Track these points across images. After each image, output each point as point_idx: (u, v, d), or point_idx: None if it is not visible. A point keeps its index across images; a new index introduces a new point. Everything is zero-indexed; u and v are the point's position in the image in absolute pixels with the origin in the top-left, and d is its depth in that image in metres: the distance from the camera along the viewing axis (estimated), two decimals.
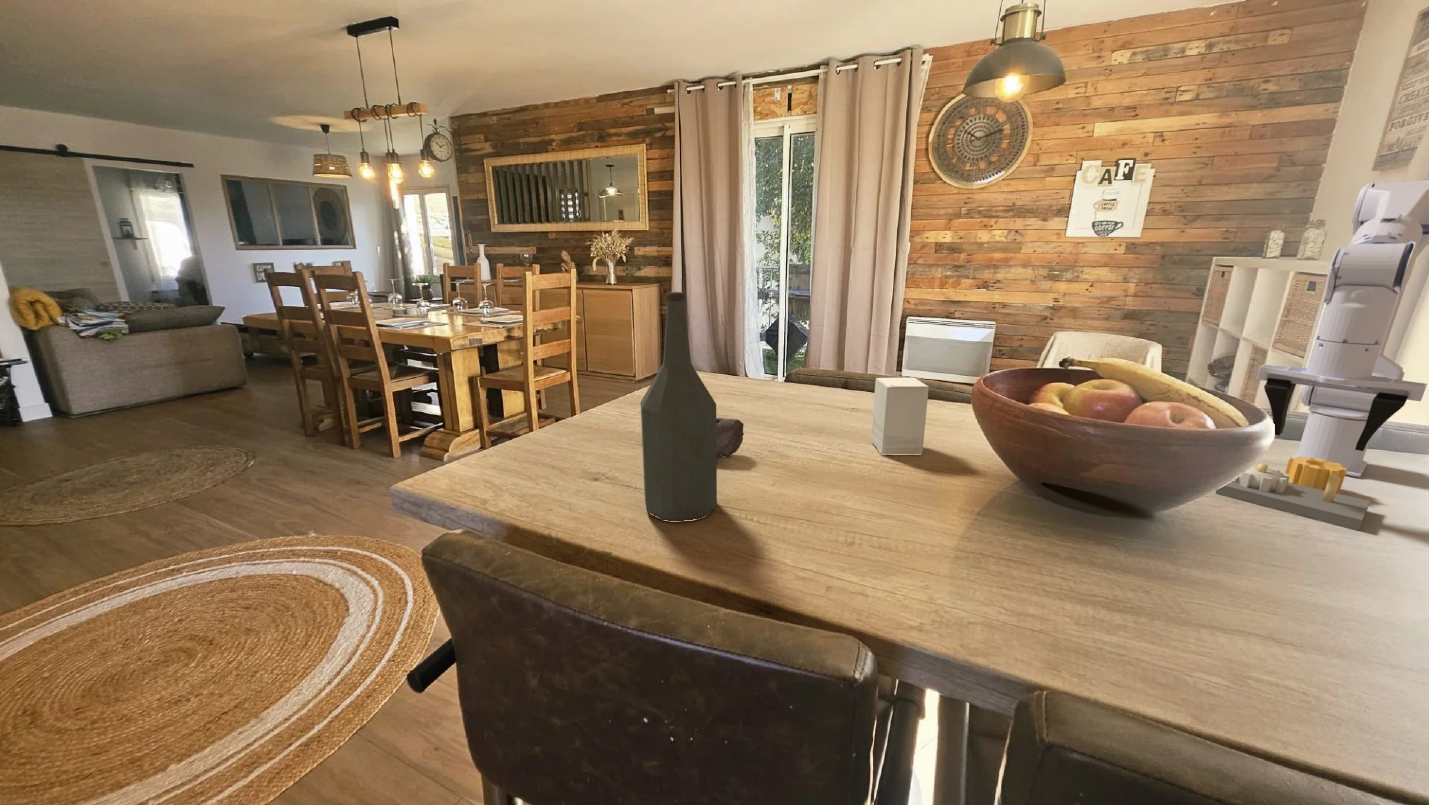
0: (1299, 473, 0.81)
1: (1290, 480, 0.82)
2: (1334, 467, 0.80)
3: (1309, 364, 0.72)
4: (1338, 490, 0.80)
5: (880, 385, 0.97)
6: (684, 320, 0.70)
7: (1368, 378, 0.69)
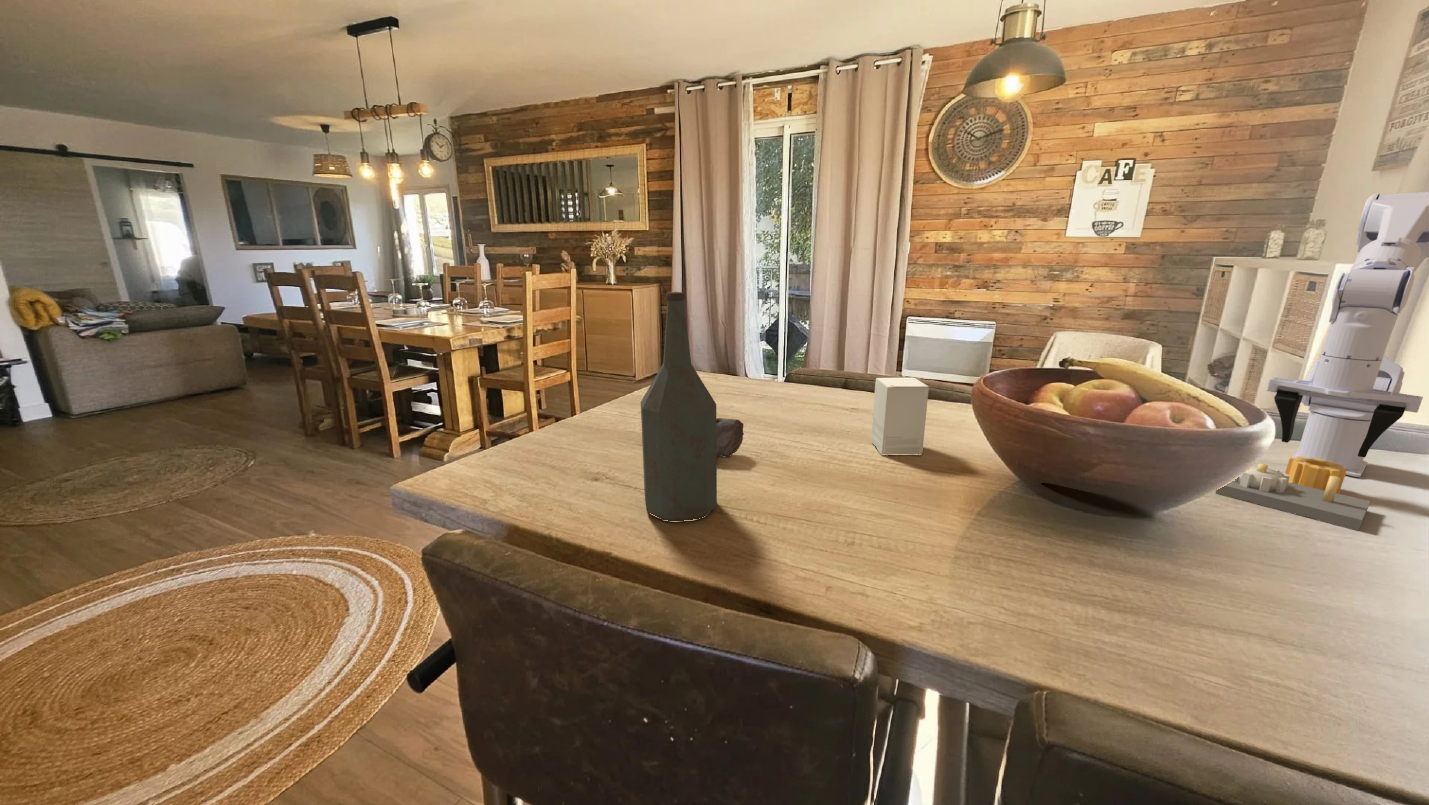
0: (1299, 473, 0.81)
1: (1290, 480, 0.82)
2: (1334, 467, 0.80)
3: (1316, 377, 0.79)
4: (1338, 490, 0.80)
5: (880, 385, 0.97)
6: (684, 320, 0.70)
7: (1369, 391, 0.75)
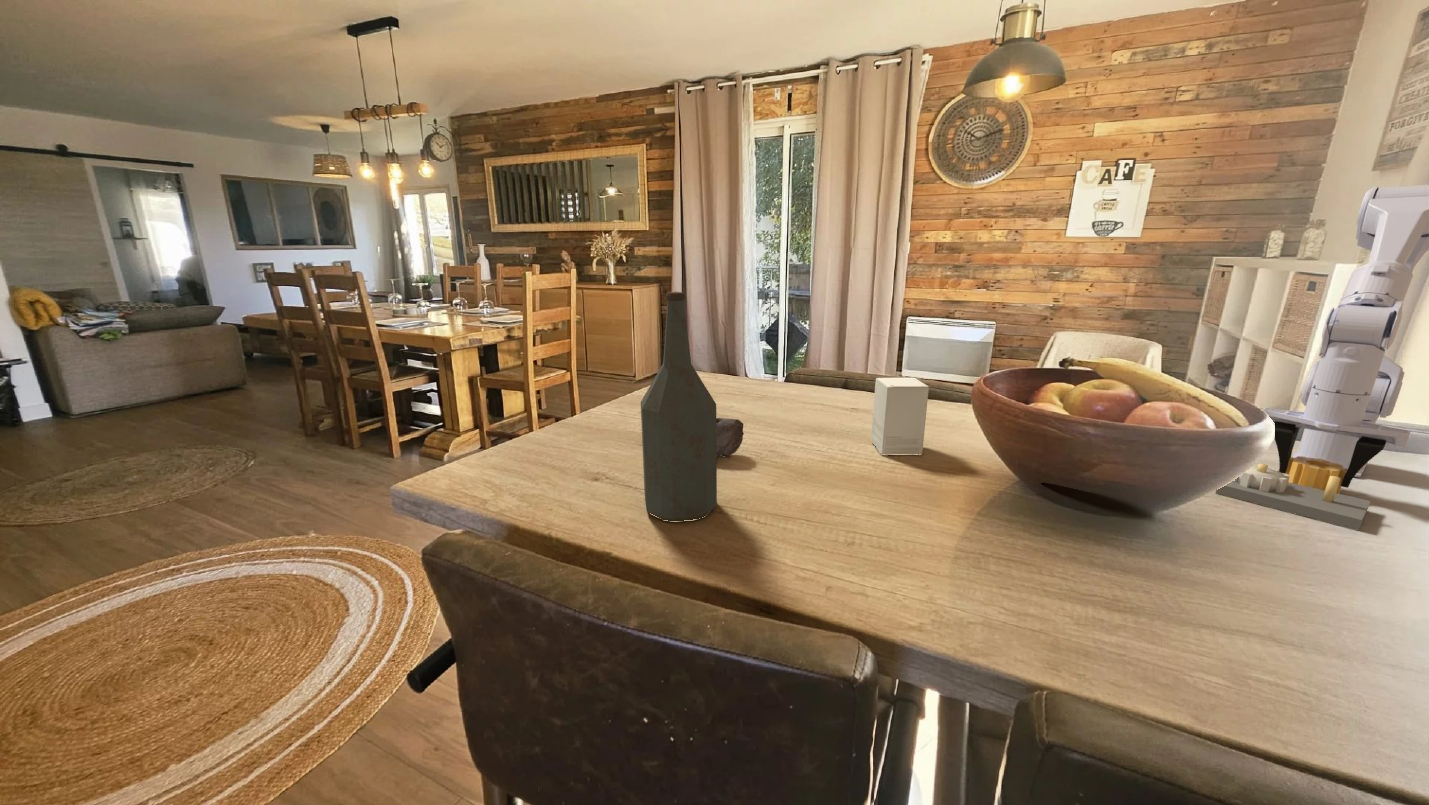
0: (1299, 473, 0.81)
1: (1290, 480, 0.82)
2: (1334, 467, 0.80)
3: (1306, 410, 0.80)
4: (1338, 490, 0.80)
5: (880, 385, 0.97)
6: (684, 320, 0.70)
7: (1358, 424, 0.77)
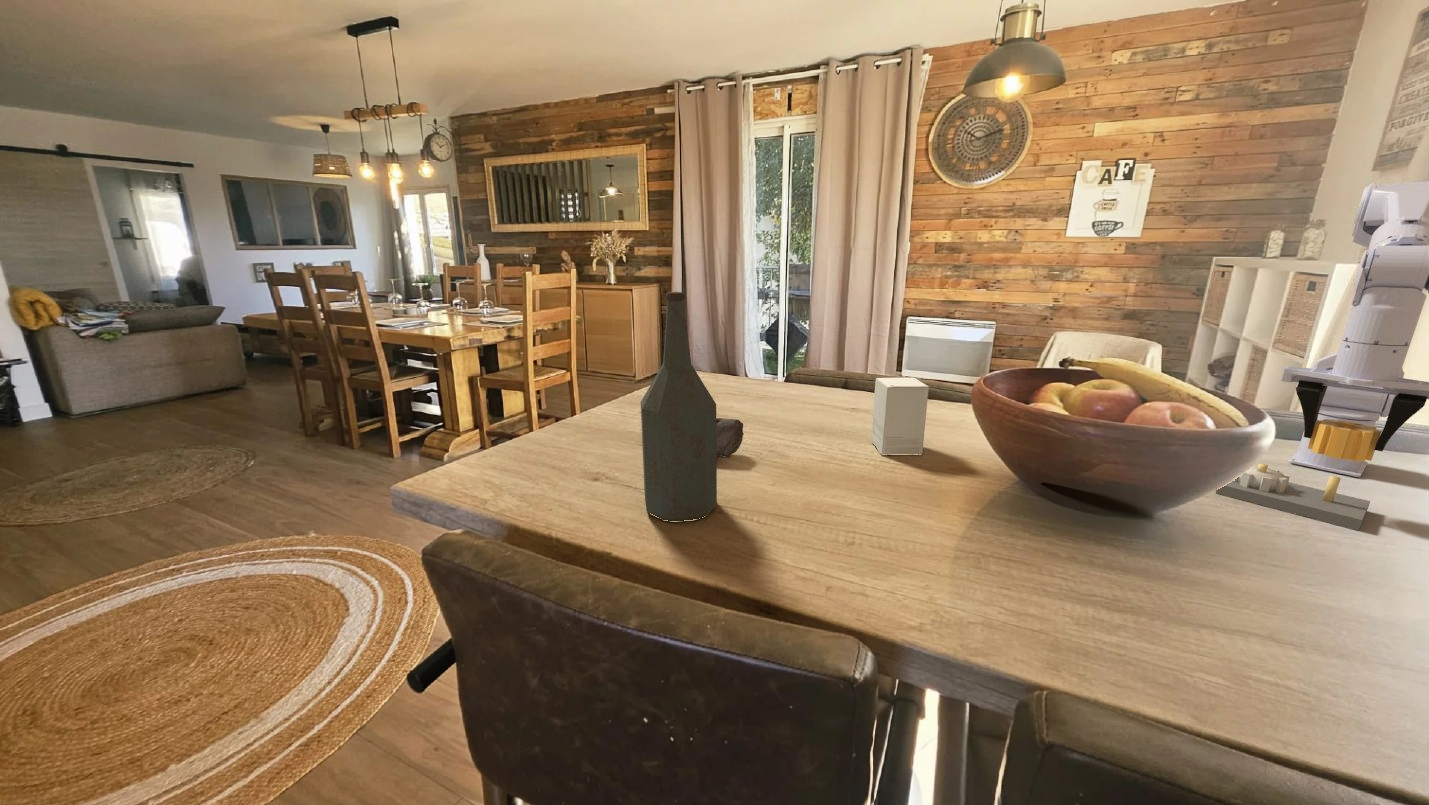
0: (1327, 437, 0.73)
1: (1317, 445, 0.74)
2: (1367, 429, 0.72)
3: (1335, 365, 0.72)
4: (1371, 454, 0.72)
5: (880, 385, 0.97)
6: (684, 320, 0.70)
7: (1395, 380, 0.69)
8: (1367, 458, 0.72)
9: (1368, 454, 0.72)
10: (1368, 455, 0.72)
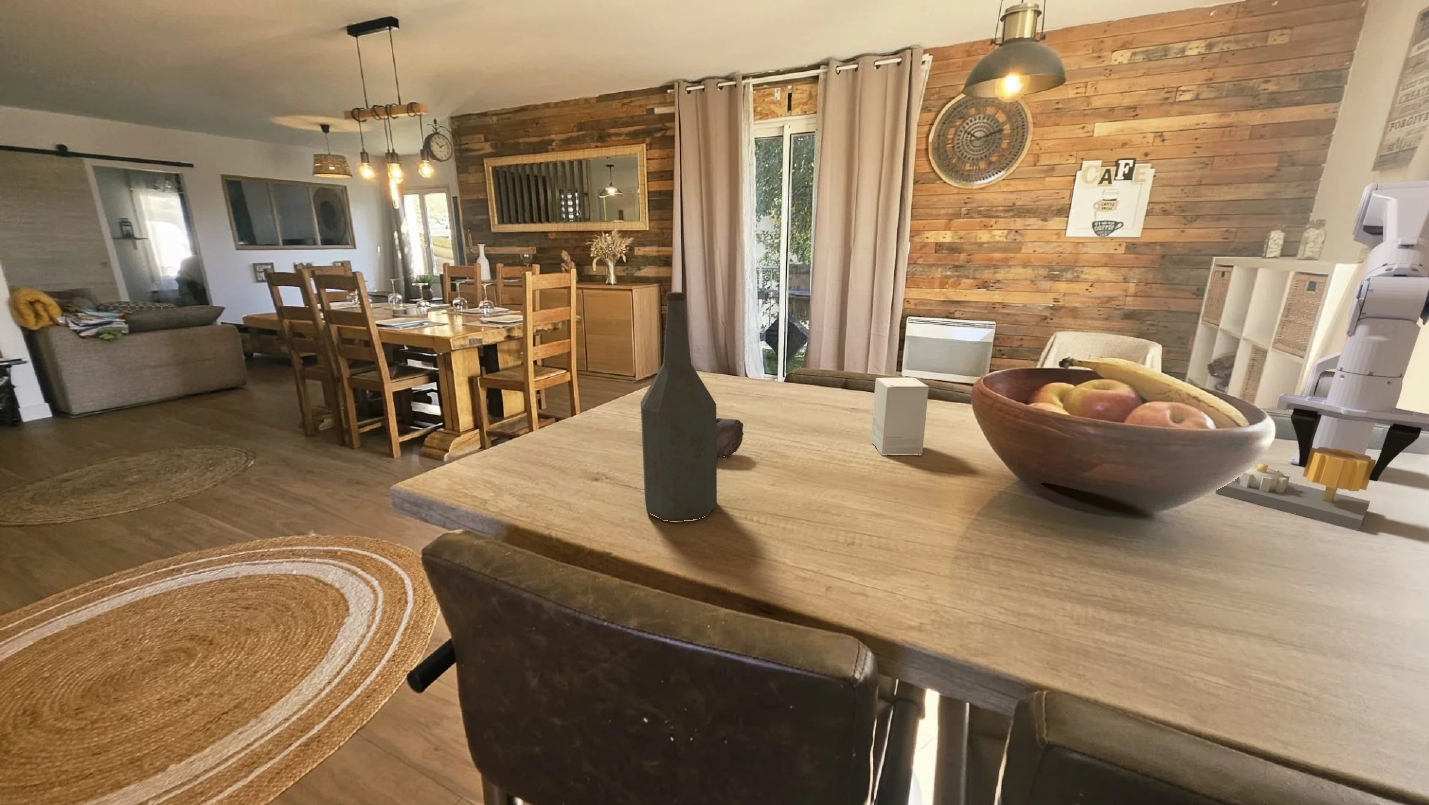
0: (1322, 466, 0.73)
1: (1311, 473, 0.74)
2: (1361, 458, 0.71)
3: (1330, 395, 0.72)
4: (1366, 484, 0.71)
5: (880, 385, 0.97)
6: (684, 320, 0.70)
7: (1390, 410, 0.69)
8: (1362, 487, 0.72)
9: (1363, 484, 0.72)
10: (1363, 485, 0.72)
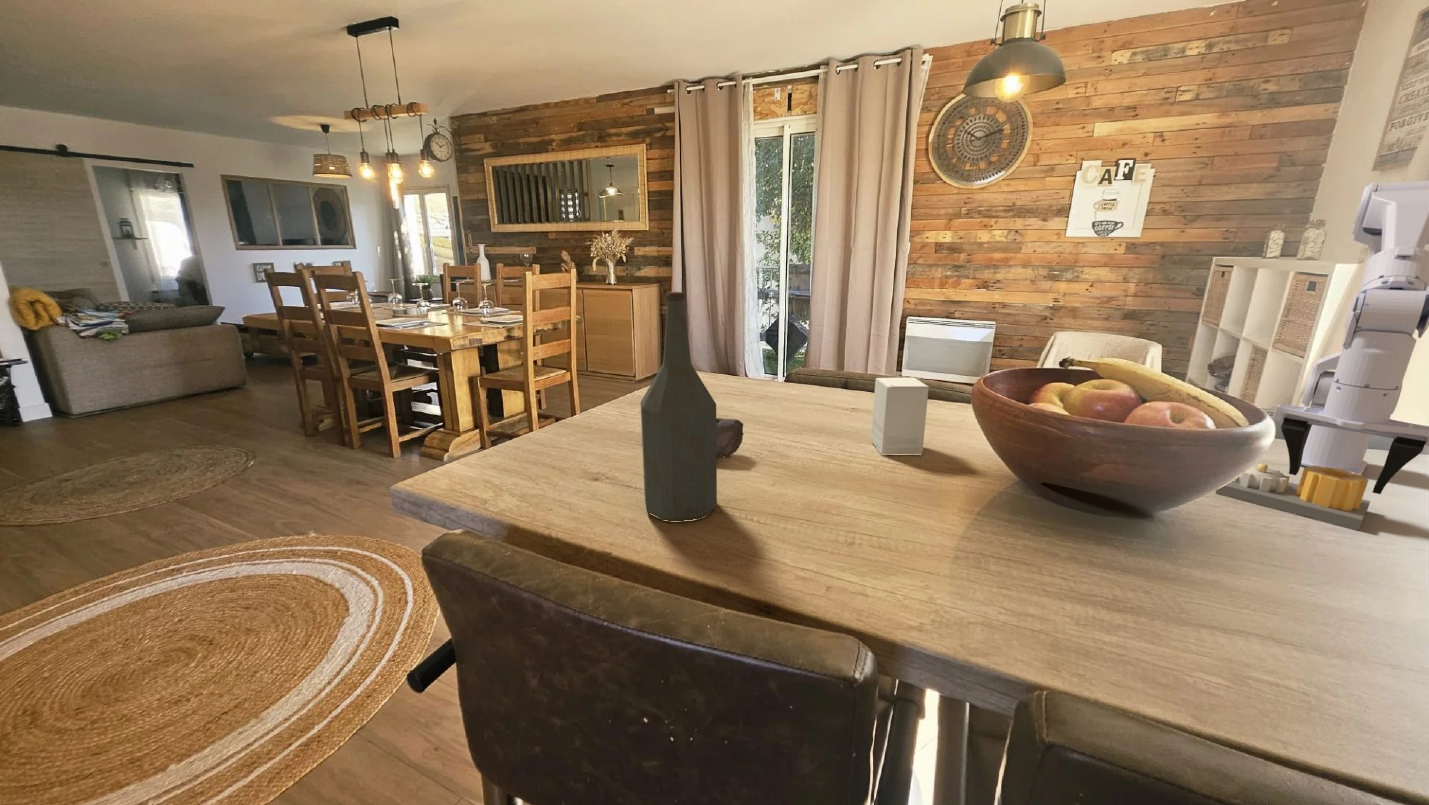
0: (1315, 485, 0.74)
1: (1305, 492, 0.75)
2: (1354, 478, 0.72)
3: (1326, 406, 0.73)
4: (1358, 503, 0.72)
5: (880, 385, 0.97)
6: (684, 320, 0.70)
7: (1386, 422, 0.69)
8: (1354, 507, 0.73)
9: (1355, 503, 0.72)
10: (1355, 504, 0.72)
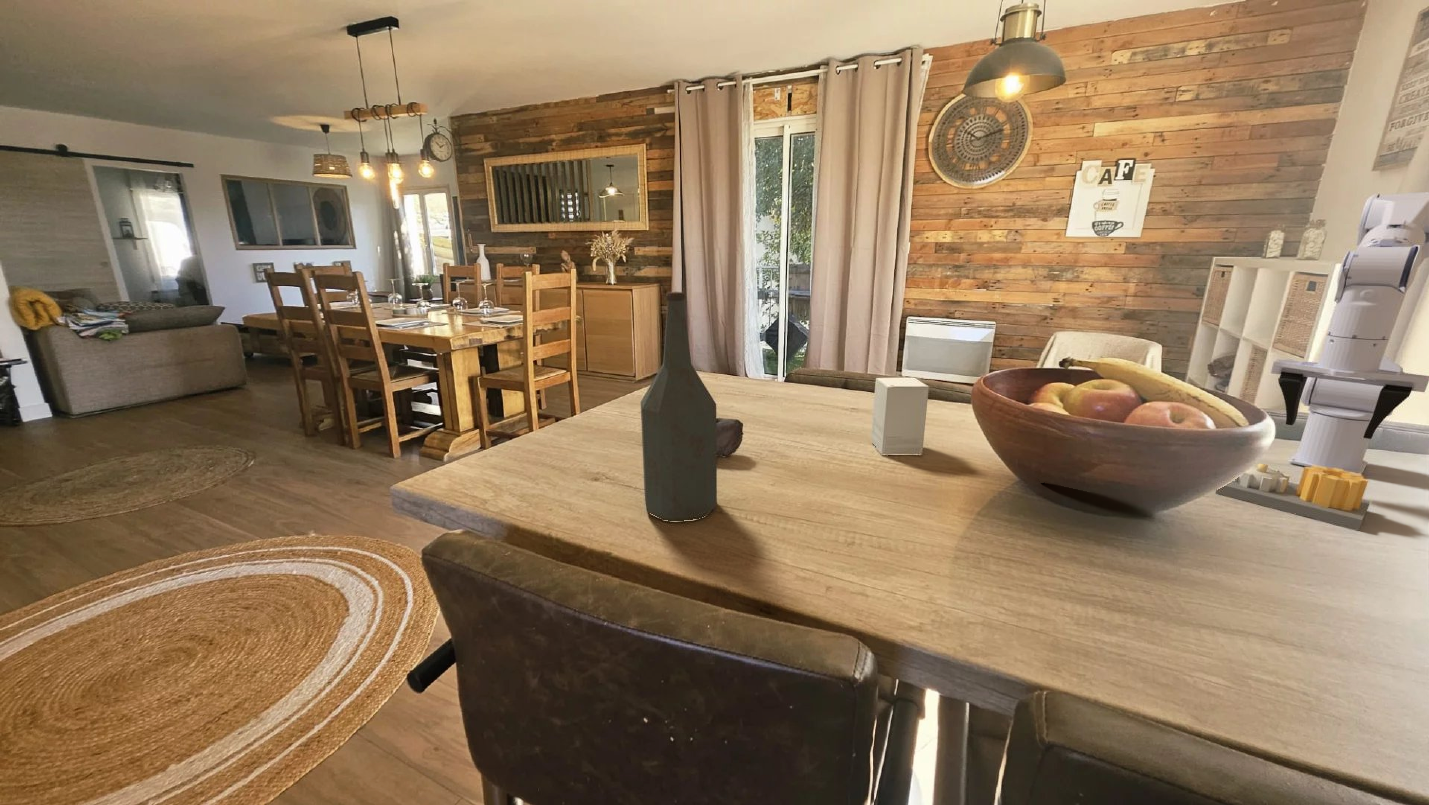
0: (1315, 485, 0.74)
1: (1305, 492, 0.75)
2: (1354, 478, 0.72)
3: (1320, 358, 0.78)
4: (1358, 503, 0.72)
5: (880, 385, 0.97)
6: (684, 320, 0.70)
7: (1376, 371, 0.74)
8: (1354, 507, 0.73)
9: (1355, 503, 0.72)
10: (1355, 504, 0.72)
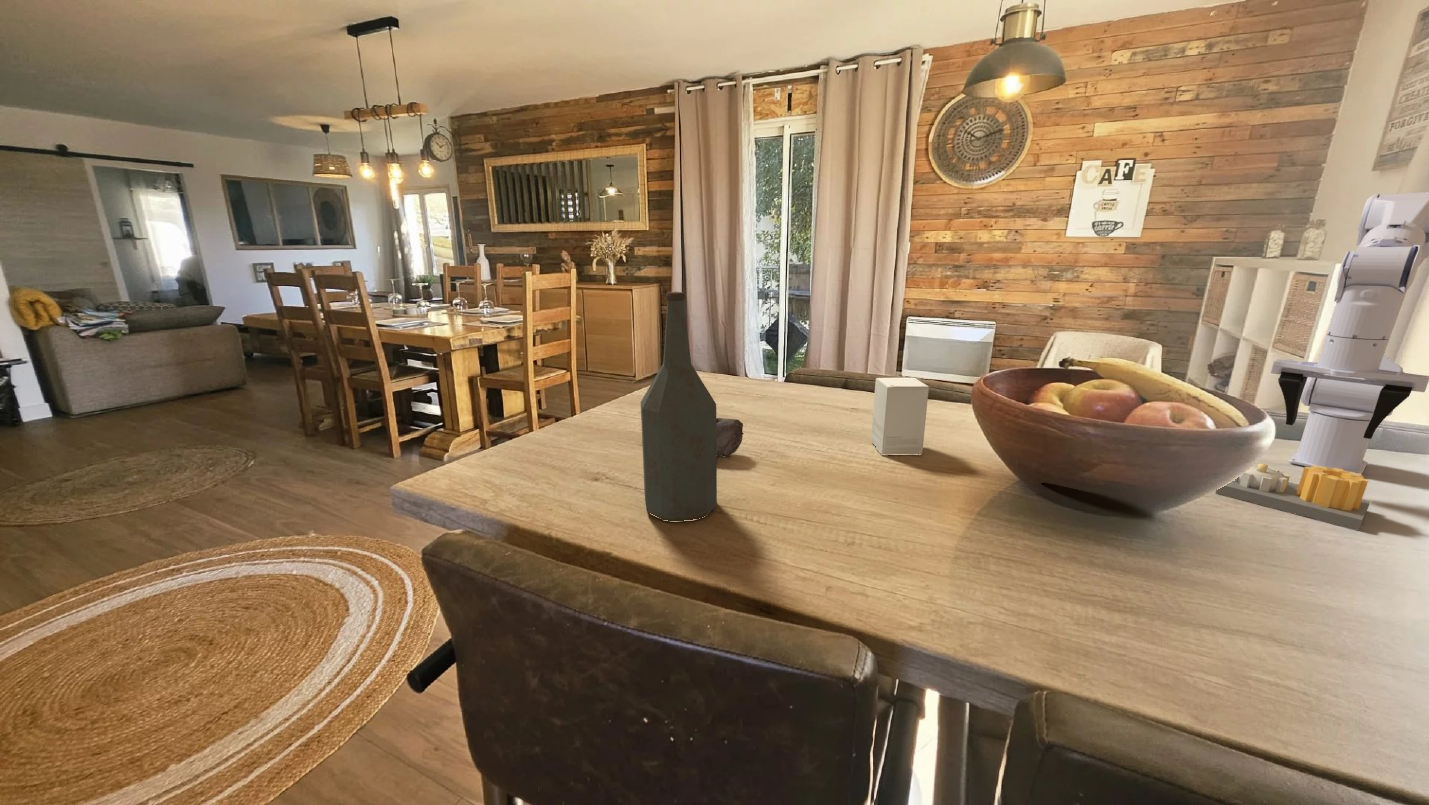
0: (1315, 485, 0.74)
1: (1305, 492, 0.75)
2: (1354, 478, 0.72)
3: (1320, 358, 0.78)
4: (1358, 503, 0.72)
5: (880, 385, 0.97)
6: (684, 320, 0.70)
7: (1376, 371, 0.74)
8: (1354, 507, 0.73)
9: (1355, 503, 0.72)
10: (1355, 504, 0.72)
